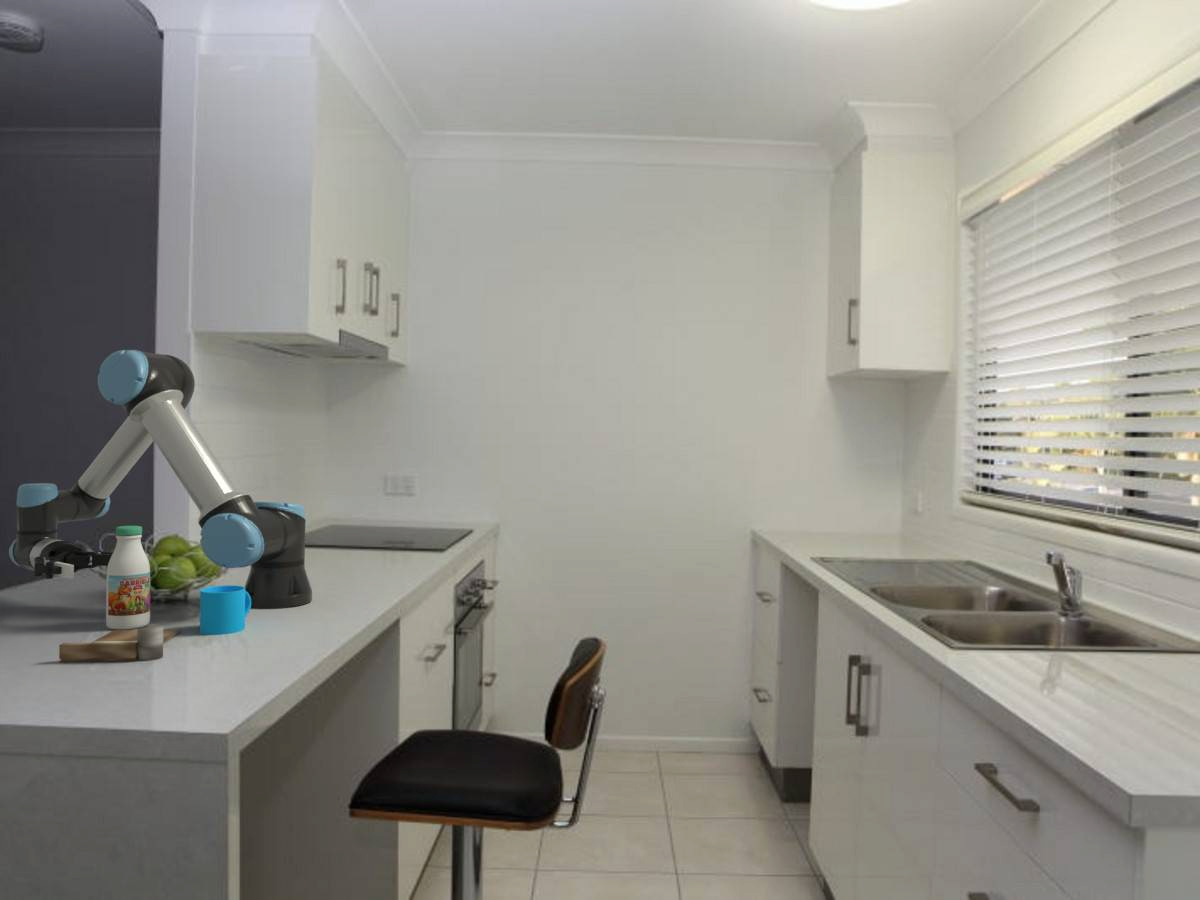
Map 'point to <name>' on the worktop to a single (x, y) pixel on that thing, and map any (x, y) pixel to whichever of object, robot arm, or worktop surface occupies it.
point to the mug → (223, 609)
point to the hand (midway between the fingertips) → (107, 567)
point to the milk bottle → (128, 582)
